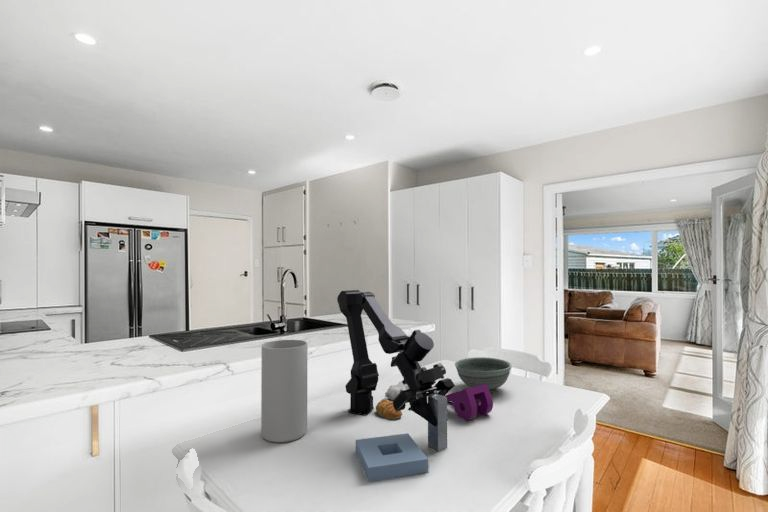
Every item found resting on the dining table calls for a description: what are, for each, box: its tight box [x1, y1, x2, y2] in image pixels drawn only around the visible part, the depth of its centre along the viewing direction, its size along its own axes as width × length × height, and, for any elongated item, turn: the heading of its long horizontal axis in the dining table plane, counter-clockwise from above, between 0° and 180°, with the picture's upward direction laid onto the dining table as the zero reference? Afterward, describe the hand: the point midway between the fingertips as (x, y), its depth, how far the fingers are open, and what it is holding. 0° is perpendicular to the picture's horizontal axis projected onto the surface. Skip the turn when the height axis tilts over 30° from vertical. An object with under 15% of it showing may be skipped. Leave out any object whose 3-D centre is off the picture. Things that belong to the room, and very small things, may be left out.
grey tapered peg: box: [427, 394, 448, 453], centre depth 101 cm, size 4×4×13 cm
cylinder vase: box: [260, 339, 308, 444], centre depth 109 cm, size 12×12×25 cm
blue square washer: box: [355, 432, 429, 483], centre depth 94 cm, size 14×14×3 cm
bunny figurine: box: [384, 380, 409, 401], centre depth 140 cm, size 10×5×15 cm
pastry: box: [375, 399, 403, 420], centre depth 123 cm, size 9×7×4 cm
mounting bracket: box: [445, 384, 494, 421], centre depth 126 cm, size 9×8×18 cm
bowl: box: [454, 356, 512, 393], centre depth 147 cm, size 21×21×10 cm
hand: (441, 423), depth 100 cm, fingers closed on grey tapered peg, 3 cm apart
